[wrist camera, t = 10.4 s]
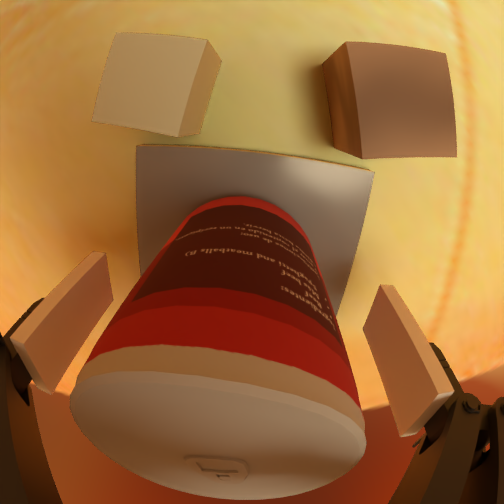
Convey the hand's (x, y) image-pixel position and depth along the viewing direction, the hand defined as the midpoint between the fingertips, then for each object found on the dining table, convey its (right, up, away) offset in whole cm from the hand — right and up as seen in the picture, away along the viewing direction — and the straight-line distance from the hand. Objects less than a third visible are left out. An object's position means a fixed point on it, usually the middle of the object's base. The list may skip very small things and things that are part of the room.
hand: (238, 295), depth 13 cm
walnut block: (+7, +9, -1) cm, 12 cm away
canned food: (0, +1, +3) cm, 3 cm away
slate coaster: (0, +2, +3) cm, 4 cm away
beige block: (-3, +10, 0) cm, 11 cm away
